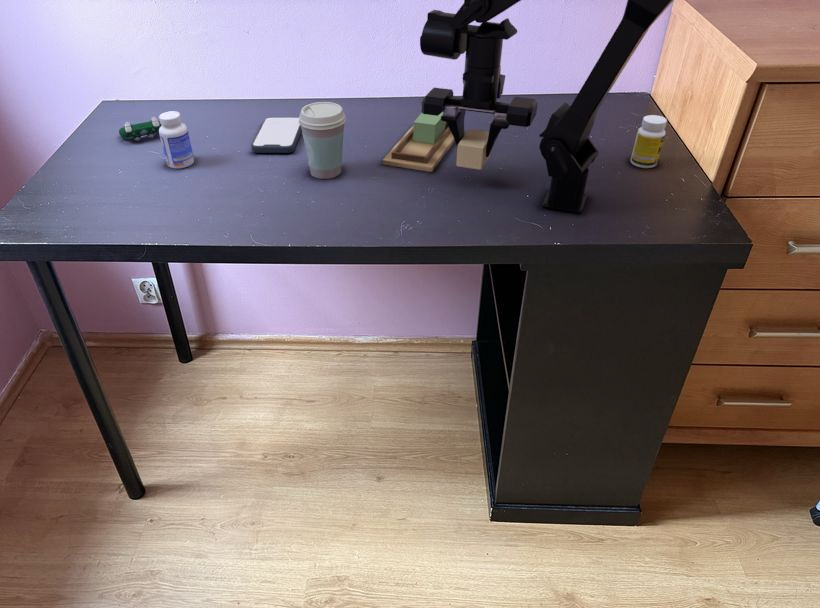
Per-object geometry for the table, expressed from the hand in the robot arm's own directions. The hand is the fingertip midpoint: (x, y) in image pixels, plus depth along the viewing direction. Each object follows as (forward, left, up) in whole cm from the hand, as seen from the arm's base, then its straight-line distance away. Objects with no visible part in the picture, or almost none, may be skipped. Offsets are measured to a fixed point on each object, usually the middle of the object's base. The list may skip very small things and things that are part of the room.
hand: (474, 154), depth 117 cm
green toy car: (-4, +71, -5) cm, 71 cm away
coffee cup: (-6, +27, -5) cm, 28 cm away
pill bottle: (-12, +56, -5) cm, 57 cm away
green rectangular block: (+14, +13, -4) cm, 19 cm away
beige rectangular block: (0, 0, -1) cm, 1 cm away
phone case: (+5, +43, -5) cm, 44 cm away
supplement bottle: (+17, -28, -5) cm, 33 cm away
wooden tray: (+10, +13, -5) cm, 17 cm away
